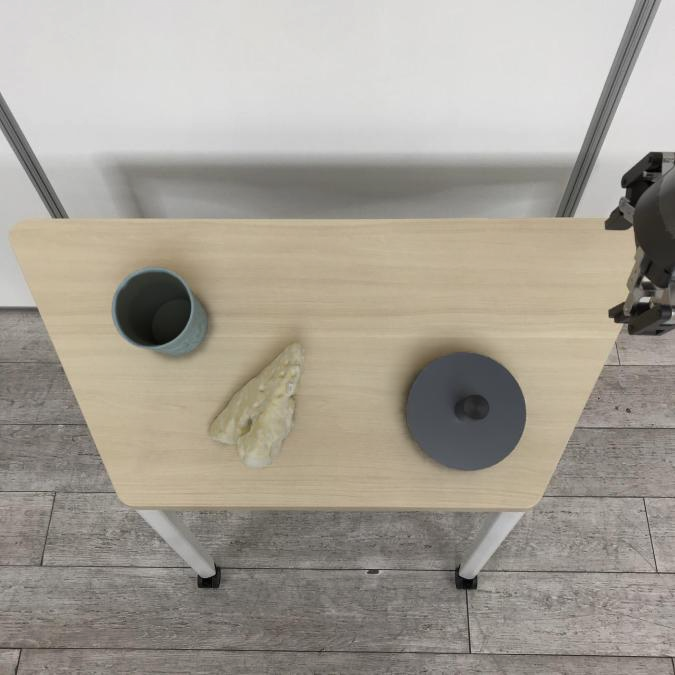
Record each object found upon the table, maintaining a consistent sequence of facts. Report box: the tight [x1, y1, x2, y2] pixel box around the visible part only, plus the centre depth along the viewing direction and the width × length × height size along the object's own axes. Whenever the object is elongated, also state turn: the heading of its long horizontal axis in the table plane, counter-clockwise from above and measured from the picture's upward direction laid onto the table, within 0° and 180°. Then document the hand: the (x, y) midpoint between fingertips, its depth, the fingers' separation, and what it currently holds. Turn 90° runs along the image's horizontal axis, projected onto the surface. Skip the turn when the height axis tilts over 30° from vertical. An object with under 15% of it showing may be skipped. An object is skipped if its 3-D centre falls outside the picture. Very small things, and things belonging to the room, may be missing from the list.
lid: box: [406, 351, 527, 472], centre depth 74 cm, size 15×15×7 cm
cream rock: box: [207, 341, 306, 469], centre depth 80 cm, size 15×7×15 cm
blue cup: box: [110, 266, 209, 356], centre depth 80 cm, size 10×10×12 cm
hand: (616, 270), depth 57 cm, fingers open, 8 cm apart
